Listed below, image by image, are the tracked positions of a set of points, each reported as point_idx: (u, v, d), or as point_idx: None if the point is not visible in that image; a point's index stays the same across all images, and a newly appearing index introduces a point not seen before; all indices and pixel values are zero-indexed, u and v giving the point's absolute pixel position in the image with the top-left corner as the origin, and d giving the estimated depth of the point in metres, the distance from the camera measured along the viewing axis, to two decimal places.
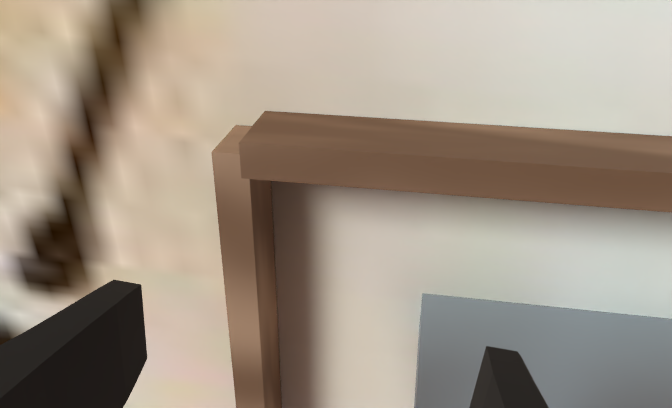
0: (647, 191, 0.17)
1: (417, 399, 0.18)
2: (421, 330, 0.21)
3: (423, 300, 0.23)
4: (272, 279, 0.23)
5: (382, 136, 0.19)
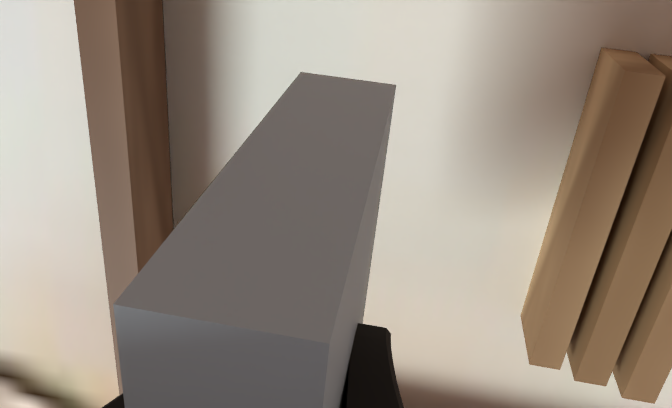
0: (109, 145, 0.18)
1: None
2: None
3: None
4: None
5: None
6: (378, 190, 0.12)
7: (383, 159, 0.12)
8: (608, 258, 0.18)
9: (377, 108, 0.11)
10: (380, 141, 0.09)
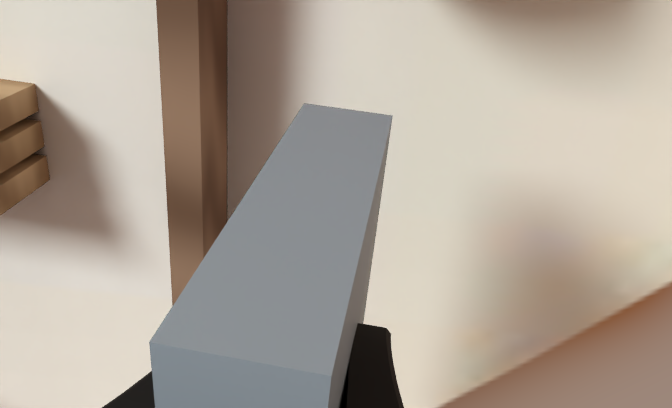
0: None
1: None
2: None
3: None
4: None
5: None
6: (376, 214, 0.13)
7: (380, 186, 0.13)
8: None
9: (374, 141, 0.12)
10: (377, 177, 0.10)
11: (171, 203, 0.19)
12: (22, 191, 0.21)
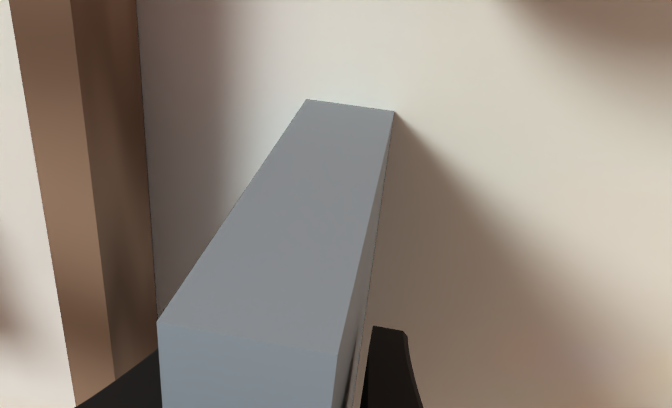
0: None
1: None
2: None
3: None
4: None
5: None
6: (378, 208, 0.13)
7: (383, 180, 0.13)
8: None
9: (377, 135, 0.12)
10: (380, 168, 0.10)
11: (66, 315, 0.14)
12: None
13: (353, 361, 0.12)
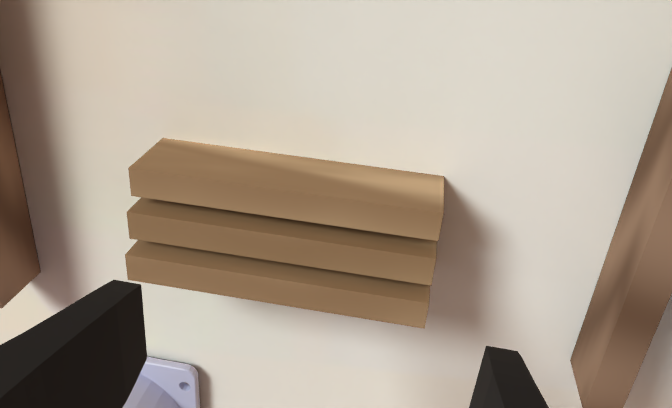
0: None
1: None
2: None
3: None
4: None
5: None
6: None
7: None
8: (261, 219, 0.19)
9: None
10: None
11: (626, 309, 0.18)
12: None
13: None
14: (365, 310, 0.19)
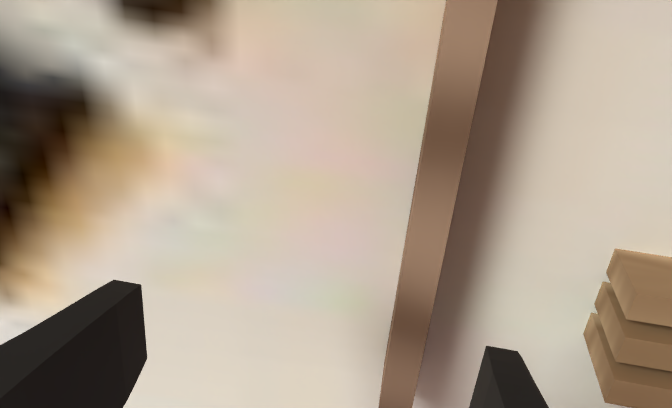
0: None
1: None
2: None
3: None
4: None
5: None
6: None
7: None
8: None
9: None
10: None
11: None
12: None
13: None
14: None
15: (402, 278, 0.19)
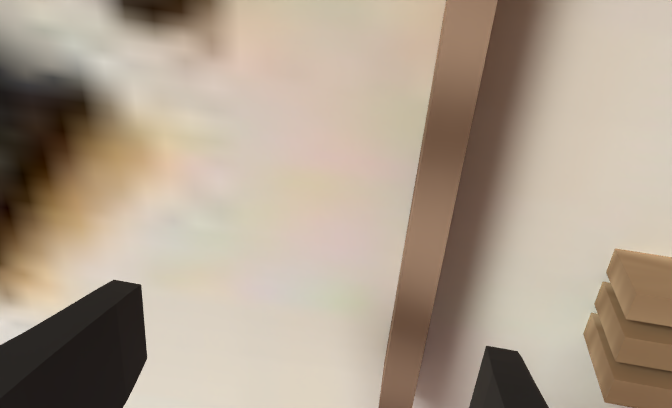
0: None
1: None
2: None
3: None
4: None
5: None
6: None
7: None
8: None
9: None
10: None
11: None
12: None
13: None
14: None
15: (402, 278, 0.19)
